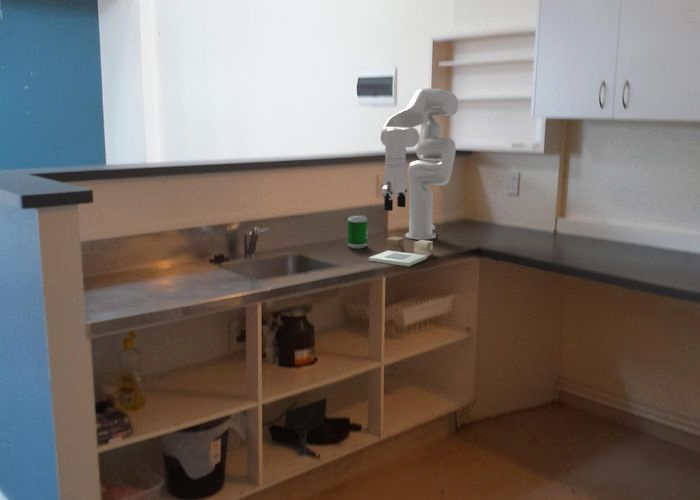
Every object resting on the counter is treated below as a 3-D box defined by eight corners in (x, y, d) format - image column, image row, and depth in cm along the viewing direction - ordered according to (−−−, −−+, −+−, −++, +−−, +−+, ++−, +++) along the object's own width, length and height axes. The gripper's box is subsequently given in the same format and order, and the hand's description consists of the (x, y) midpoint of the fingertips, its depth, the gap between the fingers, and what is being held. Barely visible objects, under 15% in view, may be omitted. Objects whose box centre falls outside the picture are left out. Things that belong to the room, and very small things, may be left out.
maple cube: (420, 253, 265) (420, 239, 264) (432, 254, 263) (432, 241, 262) (414, 255, 261) (414, 242, 260) (426, 257, 259) (426, 243, 258)
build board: (388, 253, 264) (388, 249, 264) (426, 258, 256) (427, 255, 255) (368, 260, 253) (368, 257, 252) (408, 266, 244) (408, 262, 244)
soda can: (365, 249, 272) (365, 218, 269) (346, 248, 273) (345, 217, 271) (368, 245, 279) (368, 215, 276) (349, 244, 280) (349, 214, 278)
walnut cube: (392, 249, 272) (392, 236, 271) (403, 250, 269) (404, 238, 268) (385, 251, 268) (385, 238, 267) (397, 253, 265) (397, 240, 264)
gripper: (398, 160, 270) (397, 204, 274) (374, 164, 256) (374, 211, 260) (415, 161, 266) (414, 206, 270) (392, 165, 252) (392, 212, 256)
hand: (395, 208), depth 265 cm, fingers open, 9 cm apart
